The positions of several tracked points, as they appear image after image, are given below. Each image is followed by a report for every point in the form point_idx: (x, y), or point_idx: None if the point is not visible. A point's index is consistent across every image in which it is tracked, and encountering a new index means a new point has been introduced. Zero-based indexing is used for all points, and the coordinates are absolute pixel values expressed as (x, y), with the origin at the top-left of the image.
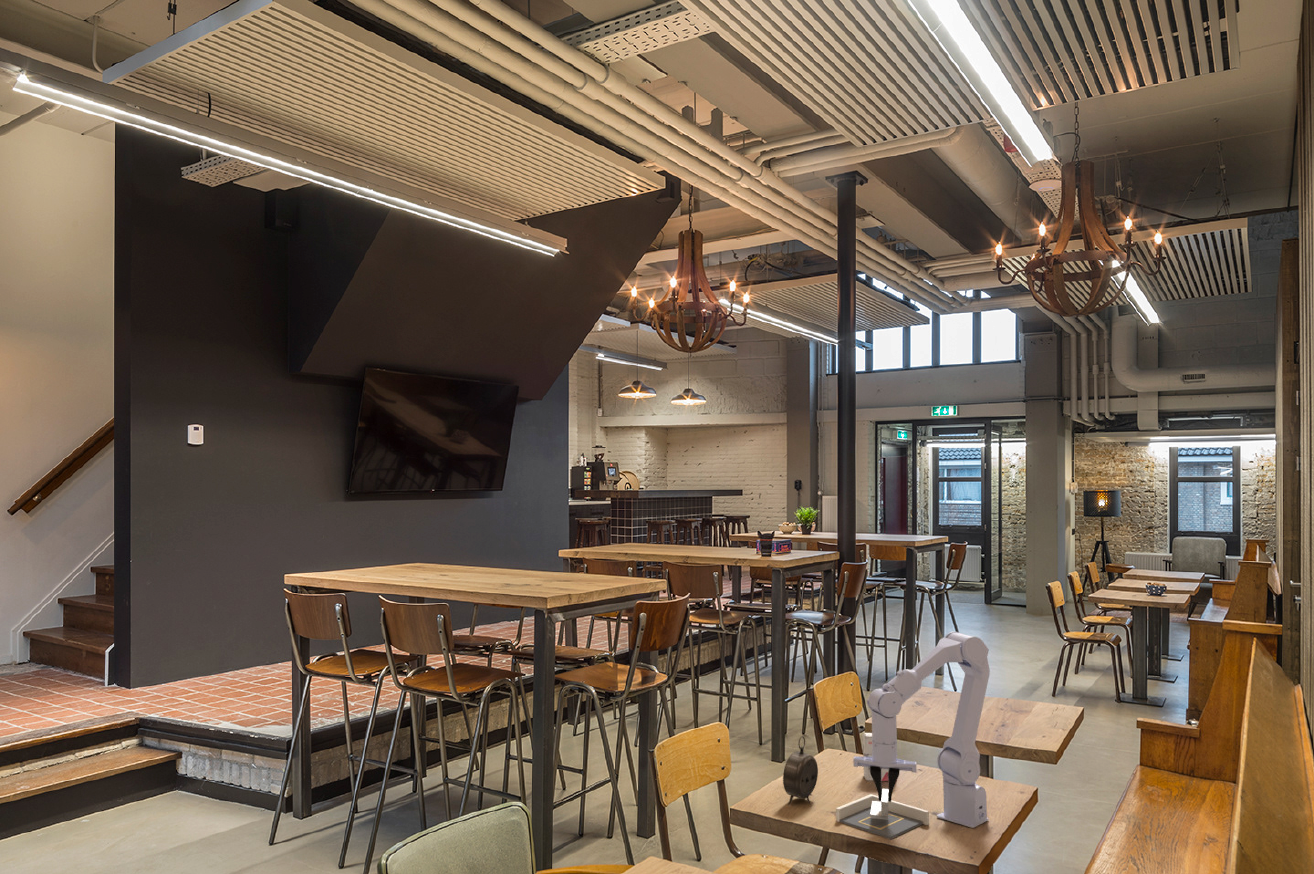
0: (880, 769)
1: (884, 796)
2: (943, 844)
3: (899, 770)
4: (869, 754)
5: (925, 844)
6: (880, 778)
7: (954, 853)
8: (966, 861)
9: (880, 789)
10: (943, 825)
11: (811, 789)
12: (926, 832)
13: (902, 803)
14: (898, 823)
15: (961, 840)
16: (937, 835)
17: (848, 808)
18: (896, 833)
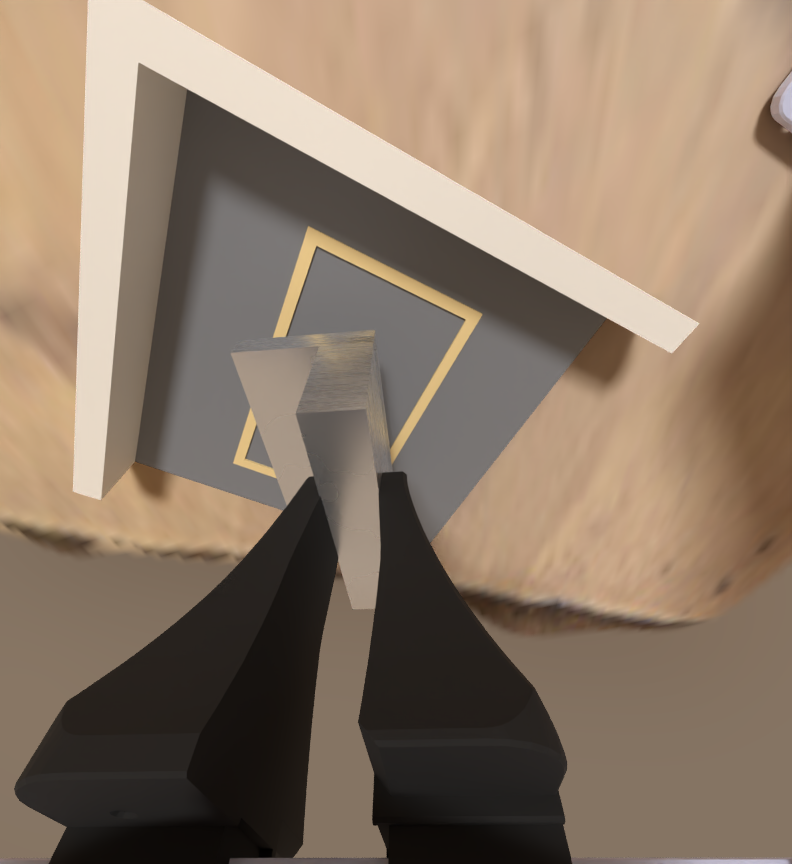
0: (259, 838)
1: (357, 547)
2: (645, 525)
3: (557, 804)
4: None
5: (563, 545)
6: (307, 759)
7: (665, 578)
8: (686, 614)
9: (321, 622)
10: (748, 277)
11: None
12: (596, 427)
13: (485, 205)
14: (447, 404)
15: (759, 463)
16: (648, 445)
17: (119, 416)
18: (442, 521)
